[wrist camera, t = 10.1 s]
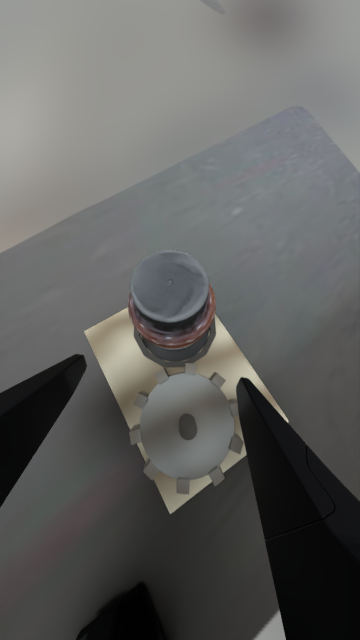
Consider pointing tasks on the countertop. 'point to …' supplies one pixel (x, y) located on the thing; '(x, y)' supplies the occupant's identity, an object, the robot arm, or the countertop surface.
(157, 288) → the supplement bottle
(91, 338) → the gear board
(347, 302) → the countertop surface
